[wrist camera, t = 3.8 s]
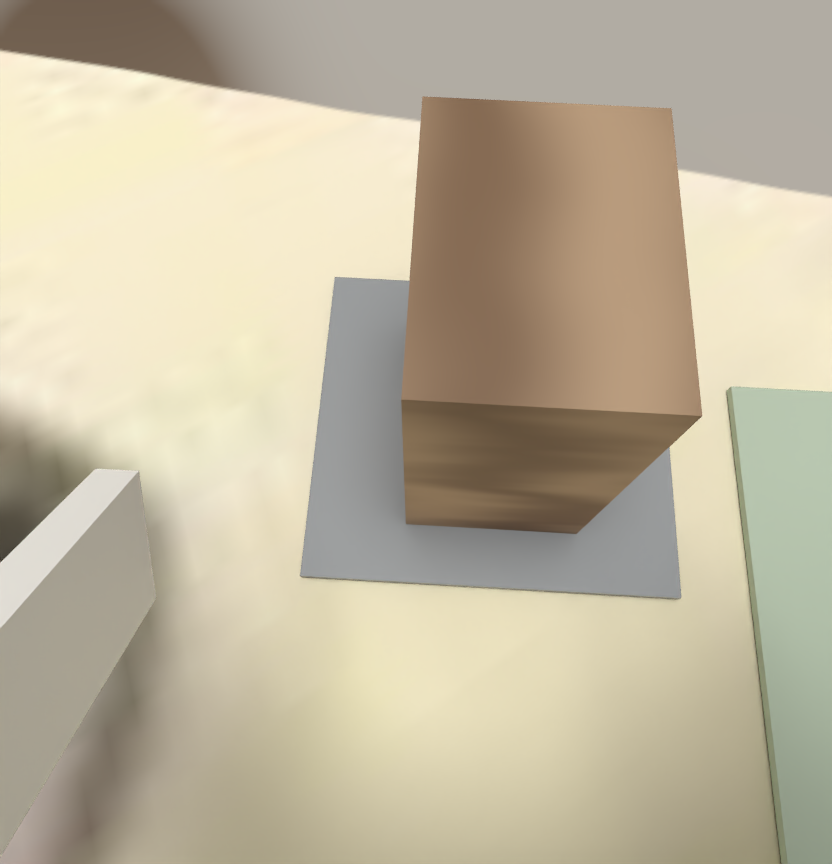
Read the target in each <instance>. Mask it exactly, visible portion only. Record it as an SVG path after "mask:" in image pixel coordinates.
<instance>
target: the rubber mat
mask: <svg viewBox="0 0 832 864" xmlns="http://www.w3.org/2000/svg"><path fill="white" fill-rule="evenodd" d="M727 398H728V407H729V415H730V424H731V433H732V441H733V450H734V459H735V467H736V476H737V485H738V493H739V502H740V511H741V519H742V528H743V537H744V545H745V554H746V563H747V571H748V580H749V589H750V597H751V606H752V615H753V623H754V632H755V641H756V649H757V658H758V666H759V675H760V684H761V692H762V701H763V710H764V718H765V727H766V736H767V744H768V753H769V762H770V770H771V779H772V788H773V796H774V805H775V814H776V822H777V831H778V840H779V848H780V857H781V864H832V392H823V391H805V390H786V389H768V388H749V387H730V388H729V389H728V390H727Z"/></svg>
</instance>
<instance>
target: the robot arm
mask: <svg viewBox="0 0 832 864" xmlns="http://www.w3.org/2000/svg"><path fill="white" fill-rule="evenodd" d="M155 599H156V593H155V585H154V578H153V571H152V563H151V556H150V549H149V541H148V534H147V527H146V520H145V512H144V505H143V498H142V490H141V483H140V476H139V471H132V470H112V469H95V470H94V471H93V472H92V473H91V474H90V475H89V476H88V477H87V478H86V479H85V480H84V481H83V482H82V483H81V484H80V485H79V486H78V487H76V488H75V489H74V490H73V491H72V492H71V493H70V494H69V495H68V496H67V497H66V498H65V499H64V500H63V501H62V502H61V503H60V504H59V505H58V506H57V507H56V508H55V509H54V510H53V511H52V512H51V513H50V514H49V515H48V516H47V517H46V518H45V519H44V520H43V521H42V522H41V523H40V524H39V525H38V526H37V527H36V528H35V529H34V530H33V531H32V532H31V533H30V534H29V535H28V536H27V537H26V538H25V539H24V540H23V541H22V542H21V543H20V544H19V545H18V546H17V547H16V548H15V549H14V550H13V551H12V552H11V553H10V554H9V555H8V556H7V557H6V558H5V559H4V560H3V561H2V562H1V563H0V857H1V855H2V854H3V852H4V850H5V849H6V847H7V845H8V844H9V842H10V840H11V839H12V837H13V835H14V834H15V832H16V830H17V829H18V827H19V825H20V824H21V822H22V820H23V819H24V817H25V815H26V814H27V812H28V810H29V809H30V807H31V805H32V804H33V802H34V800H35V799H36V797H37V795H38V794H39V792H40V790H41V789H42V787H43V785H44V784H45V782H46V780H47V779H48V777H49V775H50V774H51V772H52V771H53V769H54V767H55V766H56V764H57V762H58V761H59V759H60V757H61V756H62V754H63V752H64V751H65V749H66V747H67V746H68V744H69V742H70V741H71V739H72V737H73V736H74V734H75V732H76V731H77V729H78V727H79V726H80V724H81V722H82V721H83V719H84V717H85V716H86V714H87V712H88V711H89V709H90V707H91V706H92V704H93V702H94V701H95V699H96V697H97V696H98V694H99V692H100V691H101V689H102V687H103V686H104V684H105V682H106V681H107V679H108V677H109V676H110V674H111V672H112V671H113V669H114V667H115V666H116V664H117V662H118V661H119V659H120V657H121V656H122V654H123V652H124V651H125V649H126V648H127V646H128V644H129V643H130V641H131V639H132V638H133V636H134V634H135V633H136V631H137V629H138V628H139V626H140V624H141V623H142V621H143V619H144V618H145V616H146V614H147V613H148V611H149V609H150V608H151V606H152V604H153V603H154V601H155Z"/></svg>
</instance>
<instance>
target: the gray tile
mask: <svg viewBox="0 0 832 864" xmlns="http://www.w3.org/2000/svg"><path fill="white" fill-rule="evenodd" d="M409 282H410V281H402V280H383V279H363V278H344V277H335V281H334V290H333V298H332V307H331V316H330V324H329V333H328V341H327V350H326V359H325V367H324V376H323V384H322V393H321V401H320V410H319V419H318V427H317V436H316V444H315V453H314V462H313V470H312V479H311V487H310V496H309V505H308V513H307V522H306V530H305V539H304V548H303V556H302V565H301V573H300V576H301V577H309V578H326V579H343V580H360V581H377V582H394V583H411V584H428V585H445V586H463V587H480V588H497V589H514V590H531V591H548V592H565V593H582V594H599V595H616V596H633V597H650V598H667V599H680V598H681V588H680V575H679V563H678V550H677V538H676V525H675V513H674V500H673V488H672V475H671V463H670V450H669V448H668V449H666V450H665V451H664V452H663V453H662V454H661V455H660V456H659V457H658V458H657V459H656V460H655V461H654V462H653V463H652V464H651V465H649V466H648V467H647V468H646V469H645V470H644V471H643V472H642V473H641V474H640V475H639V476H638V477H637V478H636V479H635V480H633V481H632V482H631V483H630V484H629V485H628V486H627V487H626V488H625V489H624V490H623V491H622V492H621V493H620V494H619V495H618V496H616V497H615V498H614V499H613V500H612V501H611V502H610V503H609V504H608V505H607V506H606V507H605V508H604V509H603V510H602V511H600V512H599V513H598V514H597V515H596V516H595V517H594V518H593V519H592V520H591V521H590V522H589V523H588V524H587V525H586V526H585V527H583V528H582V529H581V530H580V531H579V532H578V533H577V534H568V533H551V532H534V531H516V530H499V529H481V528H464V527H446V526H429V525H411V524H406V515H405V488H404V461H403V434H402V407H401V395H402V381H403V367H404V353H405V339H406V325H407V310H408V296H409Z"/></svg>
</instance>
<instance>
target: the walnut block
mask: <svg viewBox="0 0 832 864" xmlns="http://www.w3.org/2000/svg"><path fill="white" fill-rule="evenodd" d="M673 130H674V129H673V120H672V110H671V108H649V107H629V106H606V105H587V104H567V103H546V102H525V101H504V100H503V101H502V100H483V99H481V100H480V99H461V98H441V97H423V98H422V113H421V126H420V140H419V154H418V168H417V183H416V197H415V211H414V225H413V239H412V254H411V268H410V282H409V296H408V310H407V325H406V339H405V353H404V367H403V381H402V395H401V407H402V434H403V461H404V488H405V515H406V524H411V525H429V526H446V527H464V528H481V529H499V530H516V531H534V532H551V533H568V534H577V533H578V532H579V531H580V530H581V529H582V528H583V527H585V526H586V525H587V524H588V523H589V522H590V521H591V520H592V519H593V518H594V517H595V516H596V515H597V514H598V513H599V512H600V511H602V510H603V509H604V508H605V507H606V506H607V505H608V504H609V503H610V502H611V501H612V500H613V499H614V498H615V497H616V496H618V495H619V494H620V493H621V492H622V491H623V490H624V489H625V488H626V487H627V486H628V485H629V484H630V483H631V482H632V481H633V480H635V479H636V478H637V477H638V476H639V475H640V474H641V473H642V472H643V471H644V470H645V469H646V468H647V467H648V466H649V465H651V464H652V463H653V462H654V461H655V460H656V459H657V458H658V457H659V456H660V455H661V454H662V453H663V452H664V451H665V450H666V449H668V448H669V447H670V446H671V445H672V444H673V443H674V442H675V441H676V440H677V439H678V438H679V437H680V436H681V435H682V434H684V433H685V432H686V431H687V430H688V429H689V428H690V427H691V426H692V425H693V424H694V423H695V422H696V421H697V420H698V419H699V418H701V417H702V409H701V399H700V389H699V379H698V369H697V359H696V349H695V339H694V329H693V319H692V309H691V299H690V289H689V279H688V269H687V259H686V249H685V239H684V229H683V219H682V209H681V199H680V189H679V179H678V169H677V160H676V150H675V140H674V131H673Z"/></svg>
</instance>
